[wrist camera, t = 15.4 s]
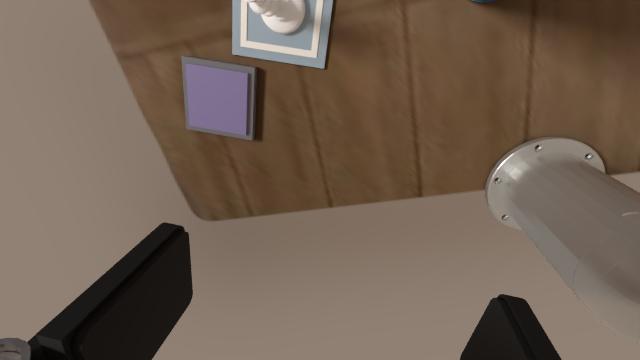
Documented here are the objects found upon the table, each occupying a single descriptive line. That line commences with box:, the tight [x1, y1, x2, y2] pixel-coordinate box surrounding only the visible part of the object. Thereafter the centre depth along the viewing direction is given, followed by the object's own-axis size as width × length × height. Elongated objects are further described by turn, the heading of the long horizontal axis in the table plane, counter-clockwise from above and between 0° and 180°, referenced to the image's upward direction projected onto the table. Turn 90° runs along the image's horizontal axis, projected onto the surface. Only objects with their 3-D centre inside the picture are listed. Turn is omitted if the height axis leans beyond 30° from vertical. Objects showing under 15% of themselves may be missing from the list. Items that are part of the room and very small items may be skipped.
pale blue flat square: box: [232, 0, 333, 69], centre depth 33 cm, size 11×11×1 cm
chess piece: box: [244, 0, 305, 34], centre depth 28 cm, size 5×5×10 cm
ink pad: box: [181, 56, 257, 140], centre depth 38 cm, size 9×9×1 cm
